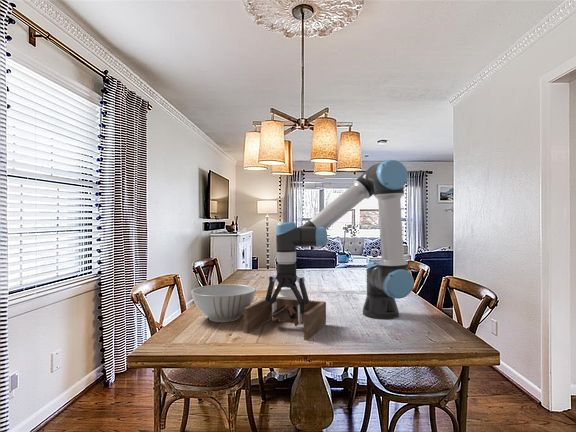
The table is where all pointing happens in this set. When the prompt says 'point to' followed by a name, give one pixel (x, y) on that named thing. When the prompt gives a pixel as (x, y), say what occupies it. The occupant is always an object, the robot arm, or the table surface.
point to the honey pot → (286, 293)
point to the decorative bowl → (223, 300)
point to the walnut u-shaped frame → (311, 318)
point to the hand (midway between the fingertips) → (287, 321)
